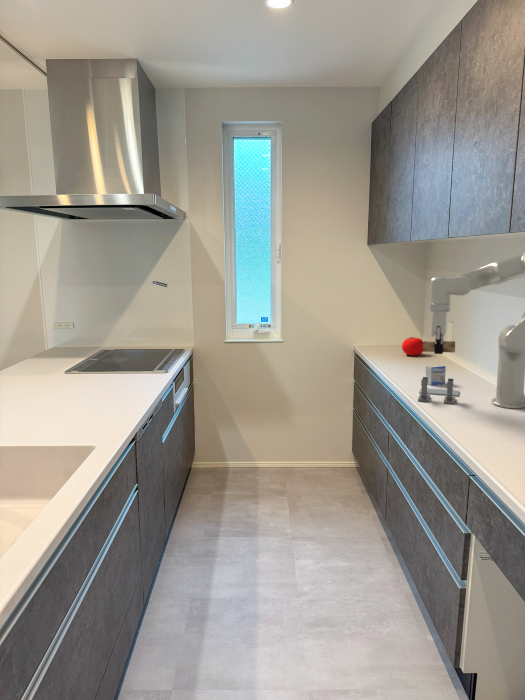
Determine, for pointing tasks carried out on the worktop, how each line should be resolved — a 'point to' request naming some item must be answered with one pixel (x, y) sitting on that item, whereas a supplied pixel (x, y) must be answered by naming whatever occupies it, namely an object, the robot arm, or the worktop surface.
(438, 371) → the medicine box
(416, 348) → the tomato
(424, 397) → the stand
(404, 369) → the worktop surface
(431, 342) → the tan wooden bar
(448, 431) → the worktop surface
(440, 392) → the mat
